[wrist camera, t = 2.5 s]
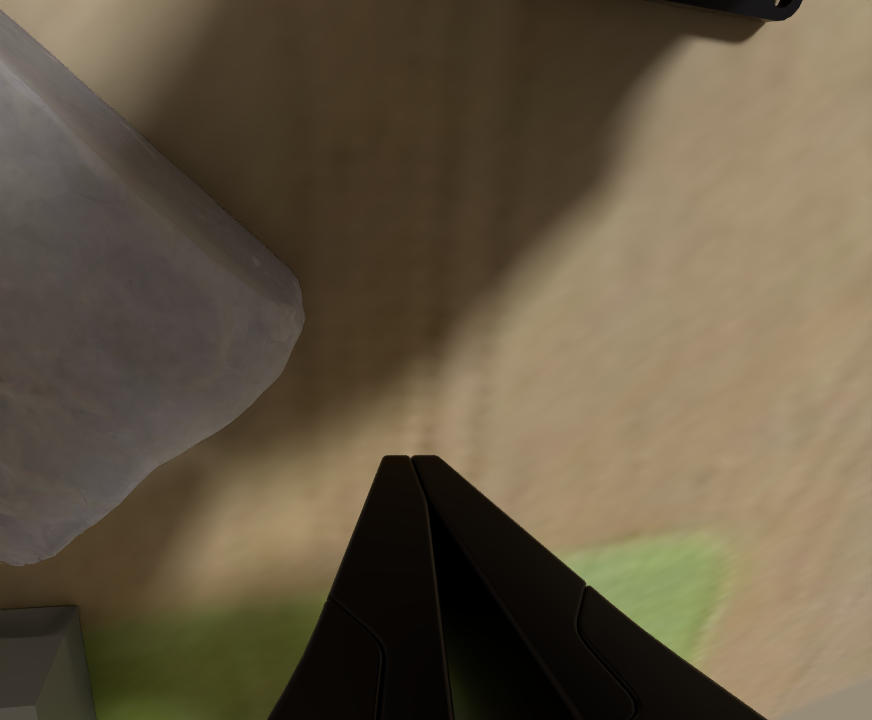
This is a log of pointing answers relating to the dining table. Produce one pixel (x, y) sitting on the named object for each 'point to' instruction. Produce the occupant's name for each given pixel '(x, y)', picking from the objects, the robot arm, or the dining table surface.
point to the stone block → (113, 307)
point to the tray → (43, 665)
